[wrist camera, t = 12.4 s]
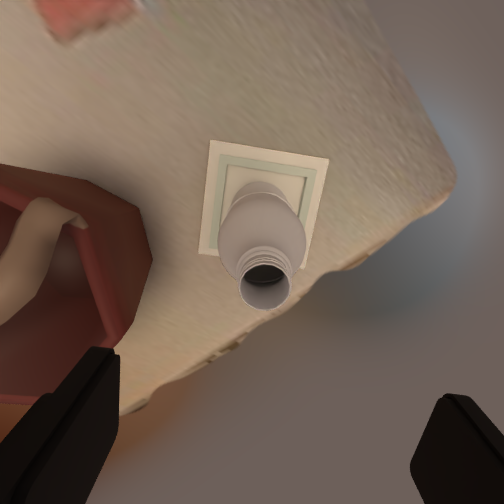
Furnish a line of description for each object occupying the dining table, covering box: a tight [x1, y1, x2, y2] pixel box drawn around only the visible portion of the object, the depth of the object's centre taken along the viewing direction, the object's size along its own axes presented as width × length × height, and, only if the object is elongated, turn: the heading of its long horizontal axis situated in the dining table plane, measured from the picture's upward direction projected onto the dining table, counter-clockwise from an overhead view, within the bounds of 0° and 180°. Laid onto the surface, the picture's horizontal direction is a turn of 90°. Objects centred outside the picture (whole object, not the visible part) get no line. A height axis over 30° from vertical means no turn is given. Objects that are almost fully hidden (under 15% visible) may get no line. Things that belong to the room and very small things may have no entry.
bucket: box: [0, 164, 153, 405], centre depth 32 cm, size 24×22×25 cm
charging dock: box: [198, 140, 329, 269], centre depth 41 cm, size 15×15×2 cm
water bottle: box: [218, 182, 306, 311], centre depth 29 cm, size 7×7×25 cm
